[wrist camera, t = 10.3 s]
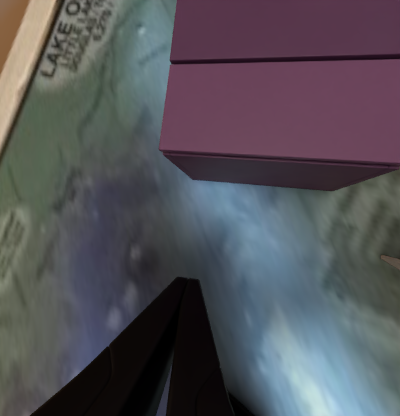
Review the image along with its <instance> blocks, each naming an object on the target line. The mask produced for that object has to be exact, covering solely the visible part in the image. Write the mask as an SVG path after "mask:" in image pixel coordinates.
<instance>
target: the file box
mask: <svg viewBox="0 0 400 416" xmlns="http://www.w3.org/2000/svg"><path fill="white" fill-rule="evenodd" d="M383 59H400V0H177V5H176V13H175V21H174V29H173V38H172V46H171V54H170V62H171V64H174V65H175V64H217V63H258V62H300V61H342V60H383ZM163 155H164V156H165V157H166V158H167V159H169V160H170V161H171V162H172V163H173V164H175V165H176V166H177V167H178V168H179V169H181V170H182V171H183V172H184V173H186V174H187V175H188V176H189V177H190V178H192V179H193V180H205V181H217V182H229V183H241V184H253V185H266V186H278V187H290V188H302V189H314V190H326V191H335V190H338V189H341V188H344V187H347V186H350V185H353V184H356V183H359V182H362V181H365V180H368V179H371V178H374V177H377V176H380V175H383V174H386V173H389V172H392V171H395V170H398V169H399V166H400V165H385V164H367V163H350V162H333V161H316V160H299V159H281V158H264V157H247V156H230V155H213V154H195V153H178V152H163Z"/></svg>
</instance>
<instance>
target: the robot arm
mask: <svg viewBox="0 0 400 416" xmlns="http://www.w3.org/2000/svg"><path fill="white" fill-rule="evenodd" d="M172 362H173V363H172ZM171 365H172V371H171V379H170V387H169V395H168V403H167V411H166V416H254V415H253V414H252V413H250V412H249V411H248V410H247V409H246V408H245V407H244V406H243V405H242V404H241V403H240V402H238V401H237V400H236V399H235V398H234V397H233V396H232V395H231V394H230V393H229V392H227V389H226V385H225V382H224V378H223V374H222V370H221V367H220V362H219V358H218V354H217V350H216V346H215V342H214V338H213V334H212V330H211V326H210V321H209V317H208V313H207V309H206V305H205V301H204V297H203V293H202V289H201V285H200V281H199V280H198V279H193V278H189V279H188V278H186V277H177V278H176V279H175V280H174V281H173V282H172V283H171V284H170V285H169V286H168V287H167V288H166V289H165V290H164V291H163V292H162V293H161V294H160V295H159V296H158V297H157V298H156V299H155V300H154V301H153V302H152V303H151V304H150V305H149V306H148V307H147V308H146V309H145V310H144V311H143V312H141V313H140V314H139V315H138V316H137V317H136V318H135V319H134V320H133V321H132V322H131V323H130V324H129V325H128V326H127V327H126V328H125V329H124V330H123V331H122V332H121V333H120V334H119V335H118V336H117V337H116V338H115V339H114V340H113V341H112V342H111V343H110V345H109V346H107V347H106V348H105V349H104V350H103V351H102V352H101V353H100V354H99V355H98V356H97V357H96V358H95V359H94V360H93V361H92V362H91V363H90V364H89V365H88V366H87V367H86V368H85V369H84V370H83V371H81V372H80V373H79V374H78V375H77V376H76V377H75V378H73V379H72V380H71V381H70V382H69V383H68V384H67V385H65V386H64V387H63V388H62V389H61V390H60V391H58V392H57V393H56V394H55V395H54V396H52V397H51V398H50V399H49V400H48V401H47V402H45V403H44V404H43V405H42V406H41V407H39V408H38V409H37V410H36V411H35V412H33V413H32V414H31V415H30V416H156V413H157V410H158V407H159V403H160V400H161V397H162V394H163V391H164V387H165V384H166V381H167V378H168V374H169V371H170V368H171Z"/></svg>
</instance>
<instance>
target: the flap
mask: <svg viewBox="0 0 400 416" xmlns="http://www.w3.org/2000/svg"><path fill="white" fill-rule="evenodd" d="M159 150H160V151H161V152H178V153H195V154H213V155H230V156H247V157H264V158H281V159H299V160H316V161H333V162H350V163H367V164H385V165H400V59H383V60H342V61H300V62H258V63H217V64H175V65H170V70H169V77H168V85H167V92H166V99H165V107H164V114H163V122H162V129H161V136H160V144H159Z"/></svg>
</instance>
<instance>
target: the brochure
mask: <svg viewBox="0 0 400 416" xmlns="http://www.w3.org/2000/svg"><path fill="white" fill-rule="evenodd" d="M381 259H383V260H384V261H386V262H387V263H389V264H391V265H392V266H394V267H395V268H397V269H399V270H400V259H397V258H393V257H389V256H385V255H381Z"/></svg>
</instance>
